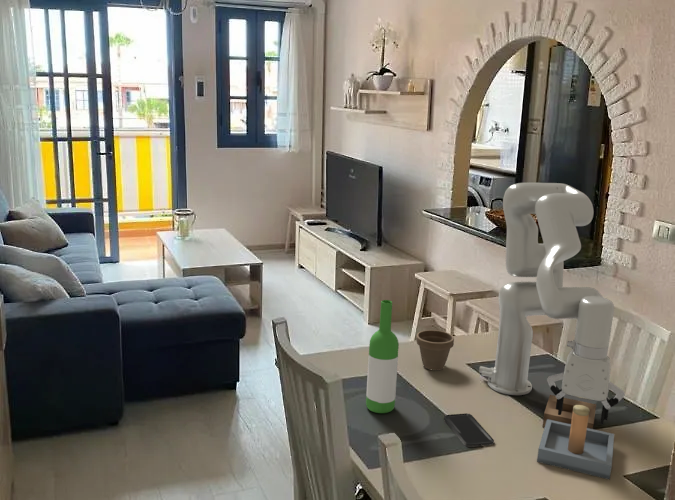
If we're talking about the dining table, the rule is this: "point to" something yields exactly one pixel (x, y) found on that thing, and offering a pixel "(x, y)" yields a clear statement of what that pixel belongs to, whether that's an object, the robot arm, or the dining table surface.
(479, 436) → the phone
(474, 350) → the dining table surface
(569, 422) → the pin block
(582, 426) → the peg
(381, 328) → the wine bottle
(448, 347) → the flower pot
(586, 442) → the tray
